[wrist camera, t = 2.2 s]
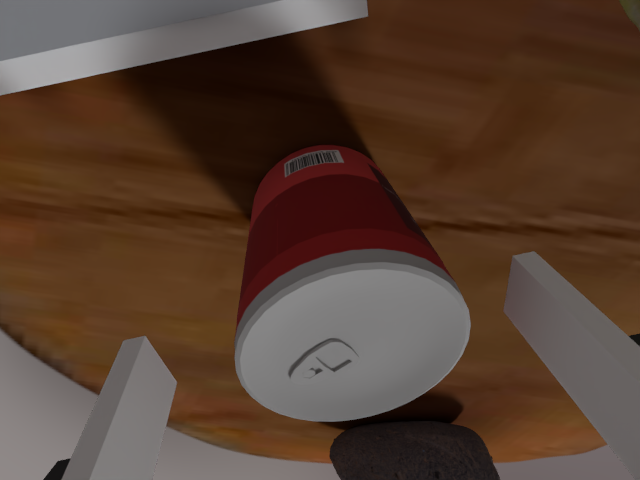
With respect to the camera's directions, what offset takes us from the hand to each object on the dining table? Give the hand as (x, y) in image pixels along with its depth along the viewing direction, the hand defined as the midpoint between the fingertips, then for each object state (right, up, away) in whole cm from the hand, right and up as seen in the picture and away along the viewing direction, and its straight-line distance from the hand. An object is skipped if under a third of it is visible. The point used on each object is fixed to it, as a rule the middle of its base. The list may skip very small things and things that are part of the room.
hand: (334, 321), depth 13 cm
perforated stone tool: (+7, -16, +23) cm, 28 cm away
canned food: (-1, +5, +8) cm, 10 cm away
